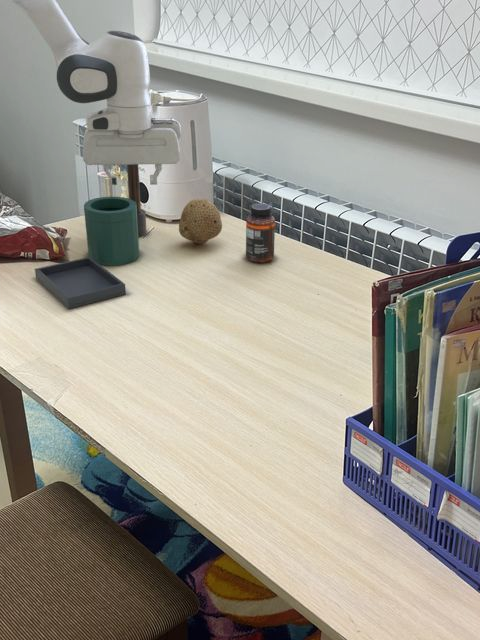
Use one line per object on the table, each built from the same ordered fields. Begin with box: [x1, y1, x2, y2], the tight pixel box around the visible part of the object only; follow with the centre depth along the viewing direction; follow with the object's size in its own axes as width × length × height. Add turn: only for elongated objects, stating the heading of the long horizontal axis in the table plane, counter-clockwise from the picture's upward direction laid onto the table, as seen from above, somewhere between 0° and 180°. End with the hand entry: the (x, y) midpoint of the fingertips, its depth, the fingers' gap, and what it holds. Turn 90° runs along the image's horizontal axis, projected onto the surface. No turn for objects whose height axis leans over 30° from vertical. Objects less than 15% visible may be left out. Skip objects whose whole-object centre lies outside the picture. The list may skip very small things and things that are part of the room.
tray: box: [34, 256, 127, 310], centre depth 130 cm, size 15×11×2 cm
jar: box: [83, 196, 140, 267], centre depth 141 cm, size 10×10×11 cm
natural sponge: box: [178, 198, 223, 245], centre depth 148 cm, size 9×9×10 cm
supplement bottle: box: [245, 202, 276, 264], centre depth 142 cm, size 6×6×11 cm
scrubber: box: [126, 164, 147, 238], centre depth 151 cm, size 4×4×16 cm
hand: (133, 184), depth 149 cm, fingers open, 7 cm apart
